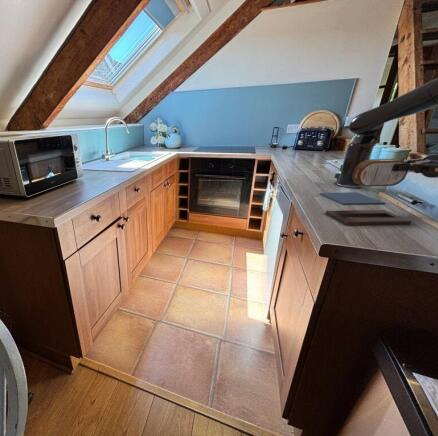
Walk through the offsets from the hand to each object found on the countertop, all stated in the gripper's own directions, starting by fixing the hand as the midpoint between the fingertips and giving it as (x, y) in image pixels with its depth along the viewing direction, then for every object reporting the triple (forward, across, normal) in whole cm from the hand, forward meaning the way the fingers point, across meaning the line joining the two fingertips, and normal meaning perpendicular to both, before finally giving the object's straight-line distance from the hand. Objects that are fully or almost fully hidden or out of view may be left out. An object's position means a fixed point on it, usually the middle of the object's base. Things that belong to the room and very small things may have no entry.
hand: (389, 166), depth 76 cm
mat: (-8, -21, +18) cm, 29 cm away
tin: (+2, 0, +6) cm, 7 cm away
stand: (+3, 0, +17) cm, 18 cm away
